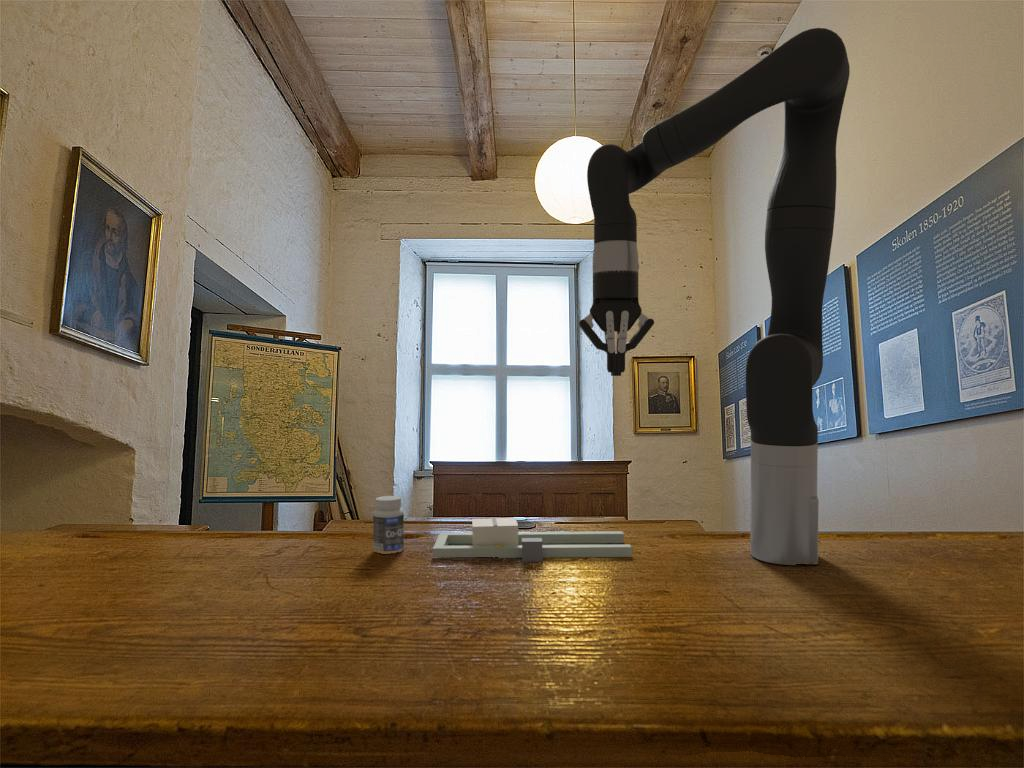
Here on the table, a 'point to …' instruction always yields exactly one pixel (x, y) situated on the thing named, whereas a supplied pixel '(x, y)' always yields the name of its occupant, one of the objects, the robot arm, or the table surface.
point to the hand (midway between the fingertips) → (615, 375)
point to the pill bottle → (388, 524)
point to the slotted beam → (536, 546)
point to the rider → (495, 531)
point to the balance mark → (498, 545)
